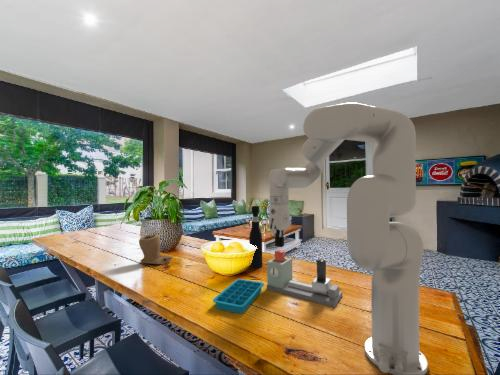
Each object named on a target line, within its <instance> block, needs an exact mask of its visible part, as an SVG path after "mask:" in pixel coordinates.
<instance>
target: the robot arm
mask: <svg viewBox="0 0 500 375" xmlns="http://www.w3.org/2000/svg"><path fill="white" fill-rule="evenodd" d="M302 128H303V133H304V135H305V136H306V137H307V140H305V142H304V143H303V144H302V147H301V151H302V154H303V156H304V157H305V158H306V160H307V161H309V162H308V163H307V164H306V165H305V166H303V167H282V168H278V169H272V170H270V172H269V213H268V215H269V216H268V227H269V229H270V230H271V234H273V236H274V247H277V248H279V247H280V248H282V247H285V232H286V230H287V229H289V228H291V213H290V212H291V210H290V205H289V204H290V203H289V202H290V201H289V199H290V197H289V194H290V193H289V191H290V190H289V189H300V188H301V189H304V188H308V187H310V186H311V185H312V184H314V183H315V182H316V181H317V180H318V179H319V178H320V177H321V176H322V174H323V171H324V166H325V161H326V159H327V158H328V157H330V155H331V154H333V152H334V151H335V150H336V149H337V148H338V147H339V146H340V145H341V144H342V143H343V142H344V141H345V140H347V141H357V142H366V143H367V142H368V143H375V144H377V145H376V148H375V150H374V153H373V156H372V174H371V175H364V176H362V177H359V178H358V179H356V180H355V181H354V182H353V183H352V184H351V186H350V188H349V190H348V193H347V197H346V241H347V243H346V244H347V250H348V253H349V255H350V258H351V260H352V261H353V262H354V263H355V265H356V266H357V267H359V268H360V269H363V270H365V271H369V272H372V273H371V280H370V281H371V289H370V290H371V291H370V292H371V297H370V298H371V303H370V304H371V337H369V338H368V339H366V341H365V342H364V352H365V355H366V356H367V358H368V359H369V360H370V361H371V362H372V363H373V364H374V365H375V366H376V367H378V369H379V370H380V371H381V372H382V373H384V374H388V373H389V374H392V375H426V374H427V373H428V370H429V363H428V359H427V358H426V356H425V355H424V353H422V352H421V351H420V277H421V276H420V275H421V268H422V262H423V257H424V242H423V239H422V236H421V234H420V233H419V232H418V231H417V229H415V228H414V227H413V226H411V225H410V224H407V223H405V222H401V221H390V220H391V219H390V218H395V217H401V216H405V215H407V214H409V213H410V212H412V211H413V209H414V208H415V206H416V202H417V191H416V190H417V185H416V183H417V180H416V178H417V174H416V172H417V170H416V169H417V166H416V143H417V142H416V139H417V135H416V134H417V133H416V128H415V125H414V123H413V121H412V120H411V118H409V117H408V115H406V114H404V113H402V112H399V111H396V110H393V109H387V108H383V107H379V106H373V105H367V104H365V103H360V102H359V103H358V102H344V103H338V104H333V105H327V106H322V107H321V106H320V107H317V108H315V109H313V110H311V111H310V112H309V113H308V114H307V116H306V117H305V119H304V121H303V126H302Z"/></svg>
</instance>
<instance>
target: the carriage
mask: <svg viewBox="0 0 500 375" xmlns="http://www.w3.org/2000/svg"><path fill="white" fill-rule="evenodd" d="M311 284H312V290H313V292H316V293H320V294H324V295H327V291H328V290H329V289H330V288H331V286H332V278H330V277H327V260H326V259H322V258H320V259H319V258H318V259H316V277H315V278H313V280H311Z"/></svg>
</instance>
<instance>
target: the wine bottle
mask: <svg viewBox="0 0 500 375" xmlns="http://www.w3.org/2000/svg"><path fill="white" fill-rule="evenodd" d="M259 213H260V205H252V206H251V214H252V219H251V220H252V221H251V229H250V233H249V239H248V240H249V243H250V244H252V245H254V246H255V245H256V246H257V248H258V249H256V251H255V253H254V256H253V260H252V263H251V265H250V264H249V267H250V268H251V269H259V268H262V267H263V235H262V231H261V228H260V220H259ZM256 246H255V247H256Z"/></svg>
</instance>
